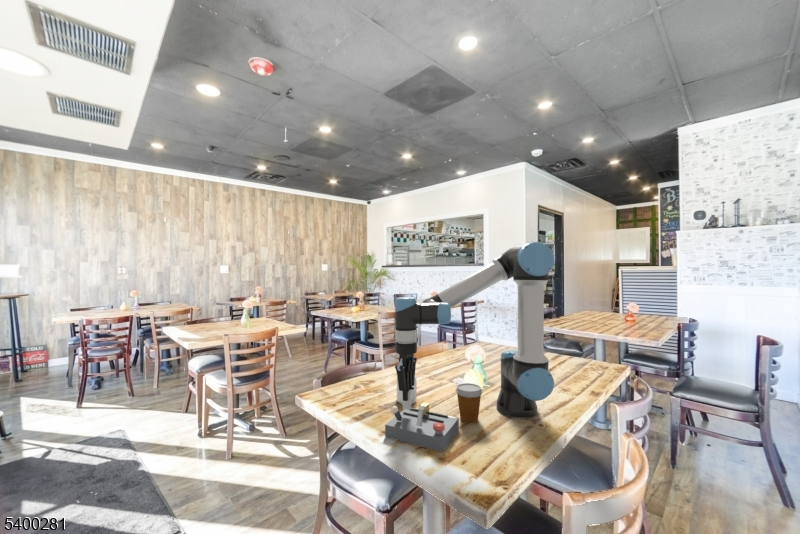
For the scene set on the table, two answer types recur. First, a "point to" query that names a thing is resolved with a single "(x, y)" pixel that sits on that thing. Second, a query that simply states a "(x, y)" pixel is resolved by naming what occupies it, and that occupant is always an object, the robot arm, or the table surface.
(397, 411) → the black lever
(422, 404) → the brass slider
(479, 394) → the disposable coffee cup
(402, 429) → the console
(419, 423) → the steel lever
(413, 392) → the mug
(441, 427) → the red button
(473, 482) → the table surface
